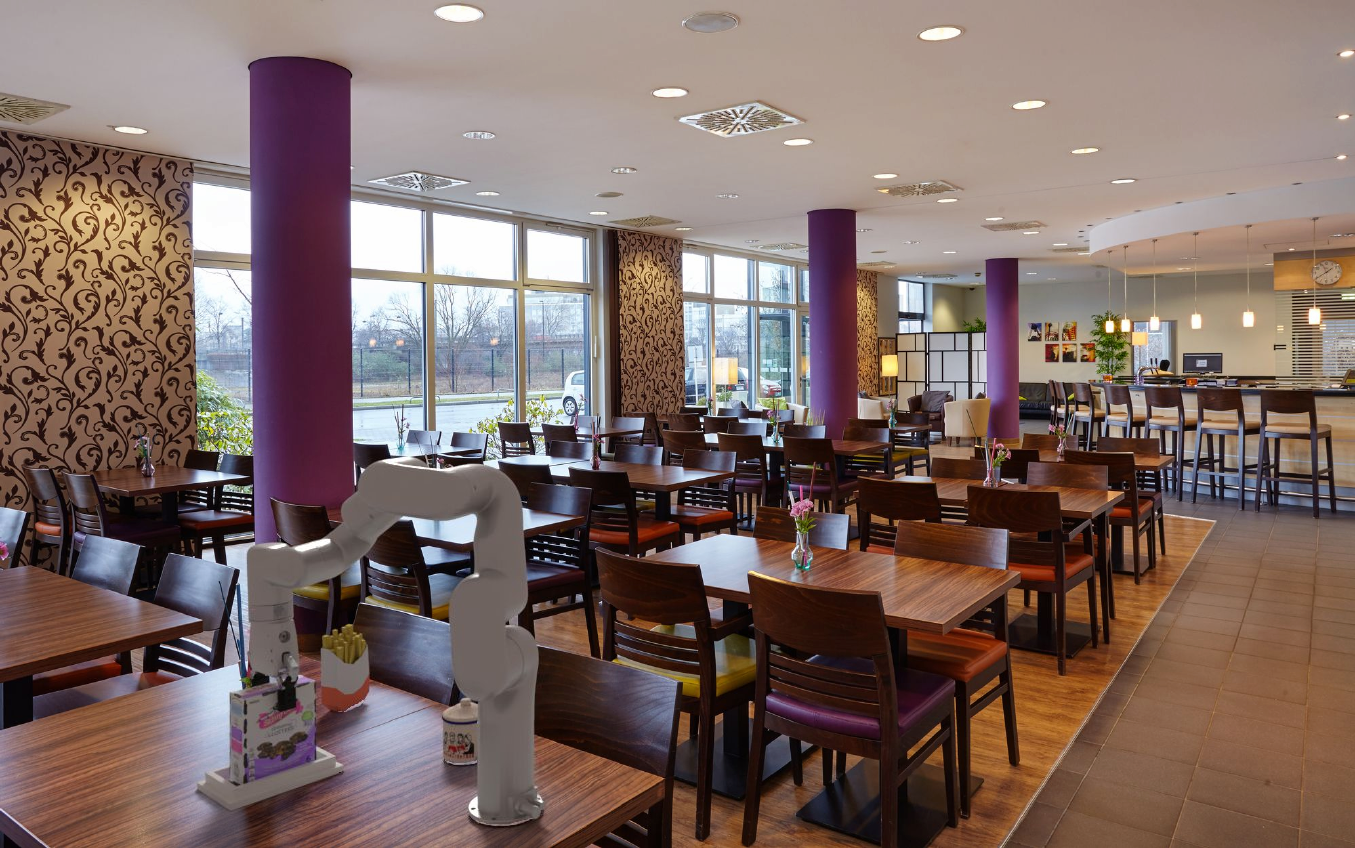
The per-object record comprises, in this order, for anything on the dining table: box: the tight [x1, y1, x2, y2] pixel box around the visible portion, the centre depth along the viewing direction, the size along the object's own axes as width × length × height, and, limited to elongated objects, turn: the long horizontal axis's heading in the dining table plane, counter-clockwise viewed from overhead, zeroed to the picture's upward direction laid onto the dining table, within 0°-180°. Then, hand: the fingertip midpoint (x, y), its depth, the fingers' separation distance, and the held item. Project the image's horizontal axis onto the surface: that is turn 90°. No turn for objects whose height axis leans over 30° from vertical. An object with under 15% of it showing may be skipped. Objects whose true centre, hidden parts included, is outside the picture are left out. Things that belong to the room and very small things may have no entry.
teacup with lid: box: [441, 697, 478, 763], centre depth 177 cm, size 12×9×12 cm
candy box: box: [229, 674, 317, 786], centre depth 166 cm, size 14×6×16 cm, turn 141°
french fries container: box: [320, 623, 370, 712], centre depth 204 cm, size 5×11×18 cm, turn 160°
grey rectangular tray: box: [196, 745, 345, 812], centre depth 167 cm, size 13×21×3 cm, turn 140°
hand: (273, 703), depth 166 cm, fingers open, 9 cm apart
